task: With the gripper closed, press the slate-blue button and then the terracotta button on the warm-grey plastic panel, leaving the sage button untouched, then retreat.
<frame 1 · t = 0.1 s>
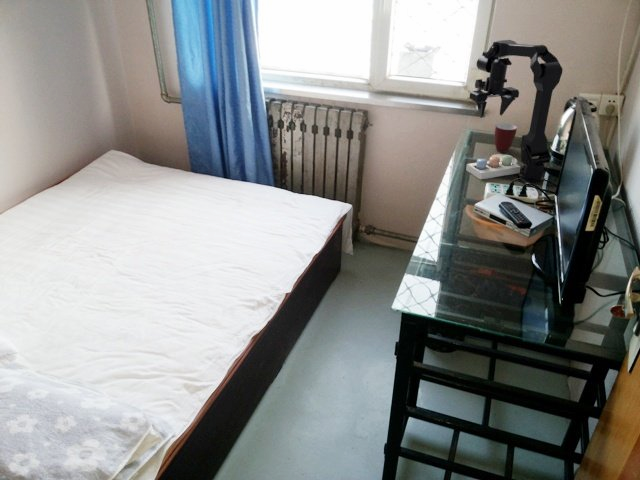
hand: (490, 116, 202), 15 cm above the table, fingers open, 9 cm apart
panel: (492, 171, 192), on the table
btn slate: (481, 164, 189), point 4 cm above the table, slide at 0.0 cm
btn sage: (506, 160, 192), point 4 cm above the table, slide at 0.0 cm
mug: (501, 149, 212), on the table
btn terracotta: (494, 162, 190), point 4 cm above the table, slide at 0.0 cm
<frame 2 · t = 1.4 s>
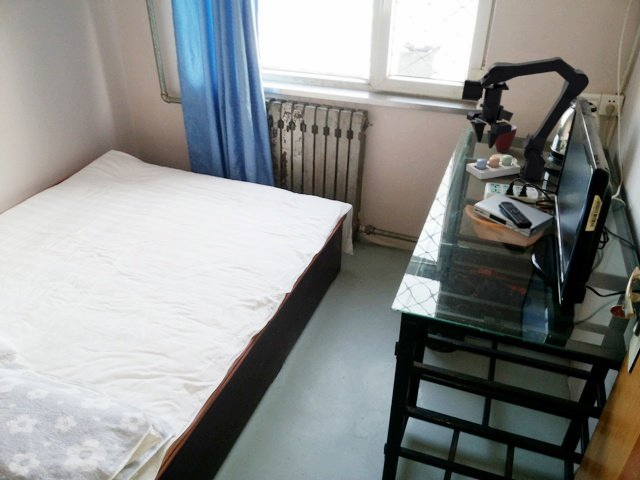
hand: (484, 145, 185), 11 cm above the table, fingers open, 6 cm apart
nothing on the table moved.
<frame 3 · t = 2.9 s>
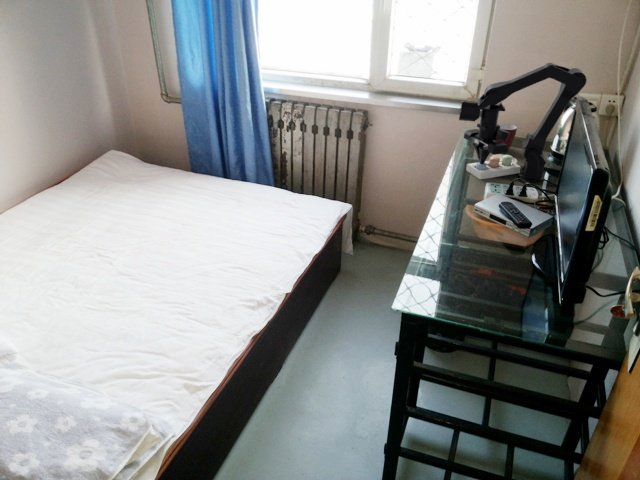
hand: (481, 163, 189), 4 cm above the table, fingers closed, pressing on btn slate
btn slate: (480, 167, 189), point 2 cm above the table, slide at 1.3 cm, touching gripper
everything else where it was.
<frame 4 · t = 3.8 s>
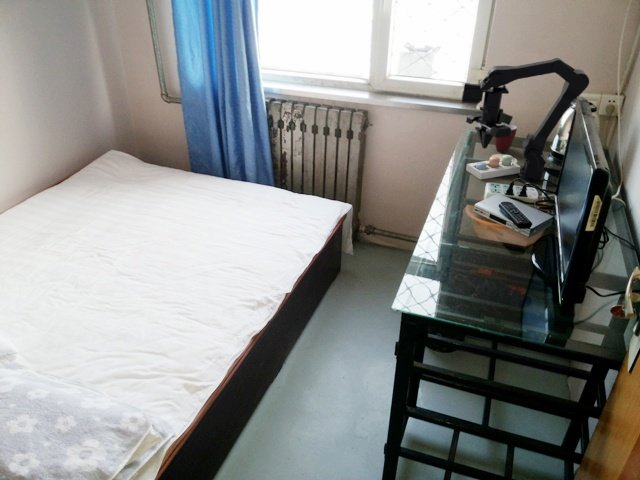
hand: (484, 148, 186), 10 cm above the table, fingers closed
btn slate: (480, 167, 189), point 2 cm above the table, slide at 1.4 cm
everything else where it was.
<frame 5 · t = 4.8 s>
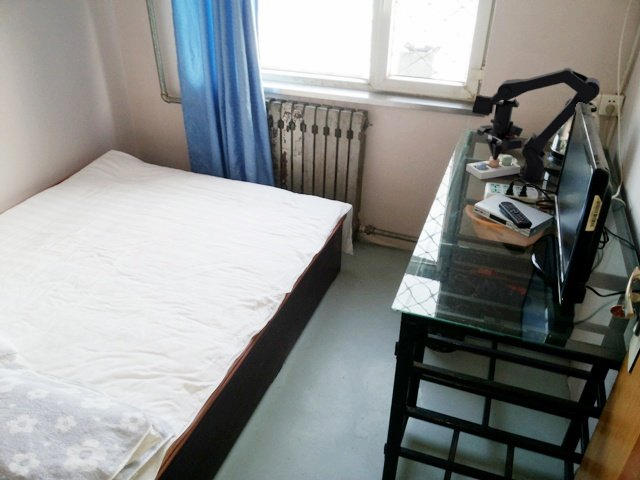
hand: (494, 159, 190), 5 cm above the table, fingers closed, pressing on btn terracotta
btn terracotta: (494, 163, 191), point 3 cm above the table, slide at 0.4 cm, touching gripper
everything else where it was.
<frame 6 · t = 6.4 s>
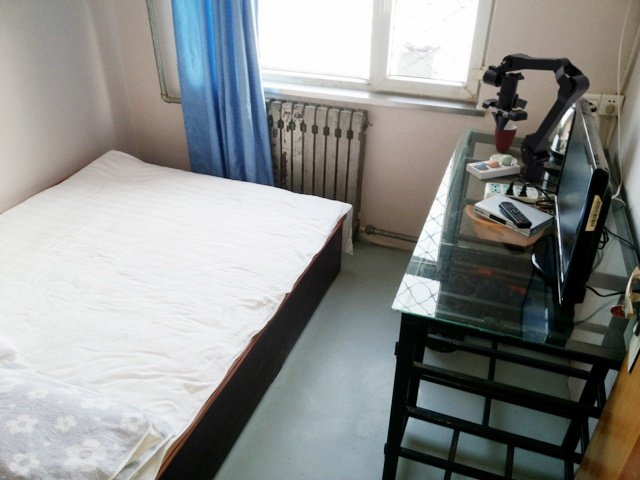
hand: (500, 132, 193), 12 cm above the table, fingers closed
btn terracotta: (493, 165, 191), point 2 cm above the table, slide at 1.4 cm
everything else where it was.
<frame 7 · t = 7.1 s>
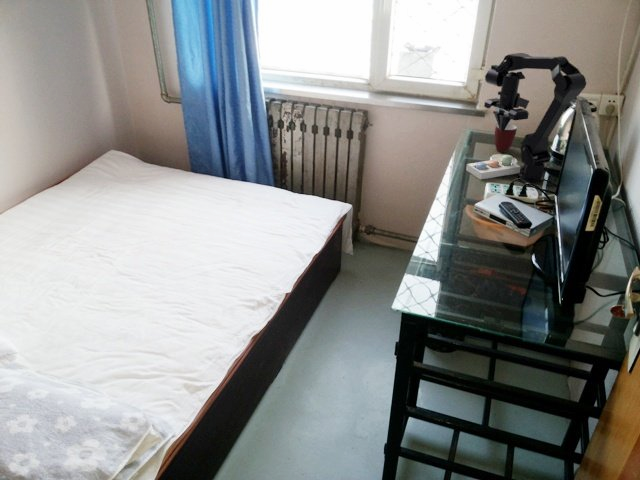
hand: (501, 131, 195), 12 cm above the table, fingers closed
nothing on the table moved.
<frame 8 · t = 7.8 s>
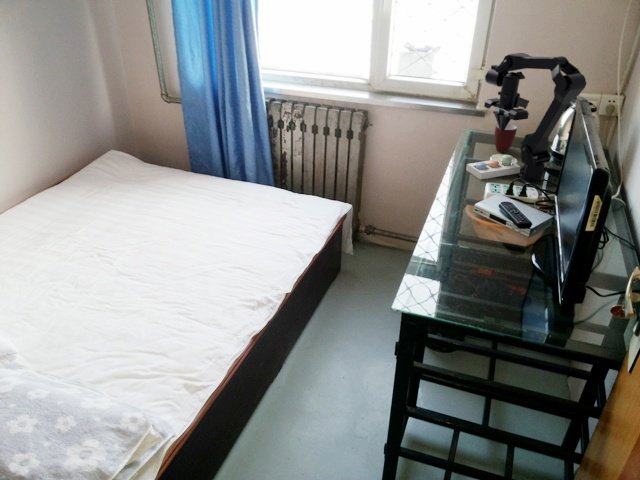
hand: (501, 131, 195), 12 cm above the table, fingers closed
nothing on the table moved.
at the end: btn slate slide at 1.4 cm; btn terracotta slide at 1.4 cm; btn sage slide at 0.0 cm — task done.
